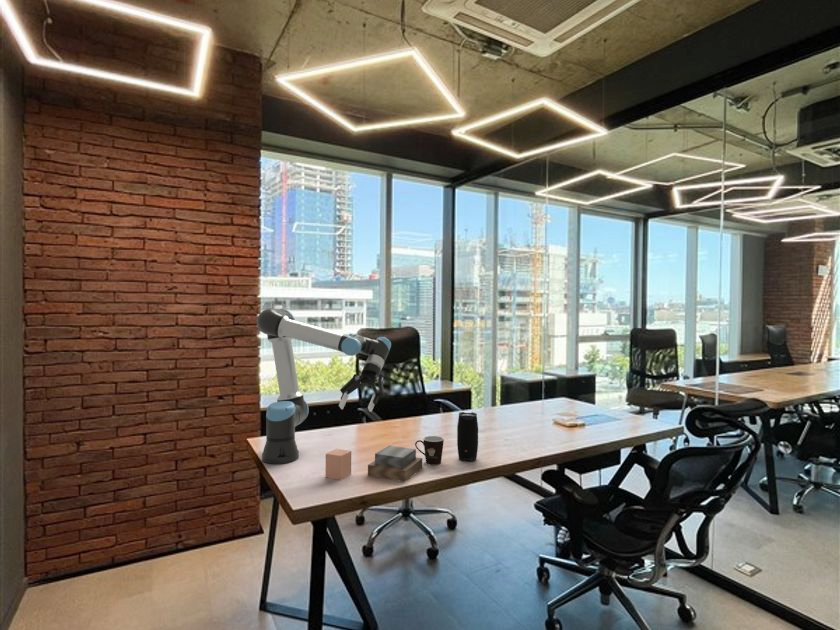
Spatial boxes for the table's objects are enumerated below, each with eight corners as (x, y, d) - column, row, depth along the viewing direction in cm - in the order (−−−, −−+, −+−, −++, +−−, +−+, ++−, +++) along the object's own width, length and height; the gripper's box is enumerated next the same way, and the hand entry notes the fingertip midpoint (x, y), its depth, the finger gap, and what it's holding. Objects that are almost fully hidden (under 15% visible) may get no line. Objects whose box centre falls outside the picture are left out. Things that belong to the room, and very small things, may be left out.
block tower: (367, 475, 173) (367, 454, 173) (387, 462, 188) (387, 443, 188) (405, 481, 167) (405, 460, 167) (422, 468, 182) (422, 448, 182)
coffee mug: (447, 462, 189) (448, 438, 189) (434, 467, 183) (434, 442, 183) (426, 456, 197) (427, 433, 197) (413, 461, 191) (413, 437, 191)
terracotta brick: (325, 477, 171) (325, 453, 171) (336, 471, 177) (336, 448, 177) (341, 480, 168) (341, 456, 168) (351, 474, 175) (351, 451, 175)
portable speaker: (471, 463, 188) (471, 416, 188) (452, 459, 194) (453, 413, 193) (482, 458, 195) (482, 413, 194) (463, 454, 200) (463, 410, 200)
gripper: (401, 374, 194) (385, 416, 180) (351, 371, 204) (332, 411, 190) (395, 363, 189) (378, 405, 175) (345, 361, 199) (325, 401, 185)
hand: (354, 408), depth 183 cm, fingers open, 13 cm apart
